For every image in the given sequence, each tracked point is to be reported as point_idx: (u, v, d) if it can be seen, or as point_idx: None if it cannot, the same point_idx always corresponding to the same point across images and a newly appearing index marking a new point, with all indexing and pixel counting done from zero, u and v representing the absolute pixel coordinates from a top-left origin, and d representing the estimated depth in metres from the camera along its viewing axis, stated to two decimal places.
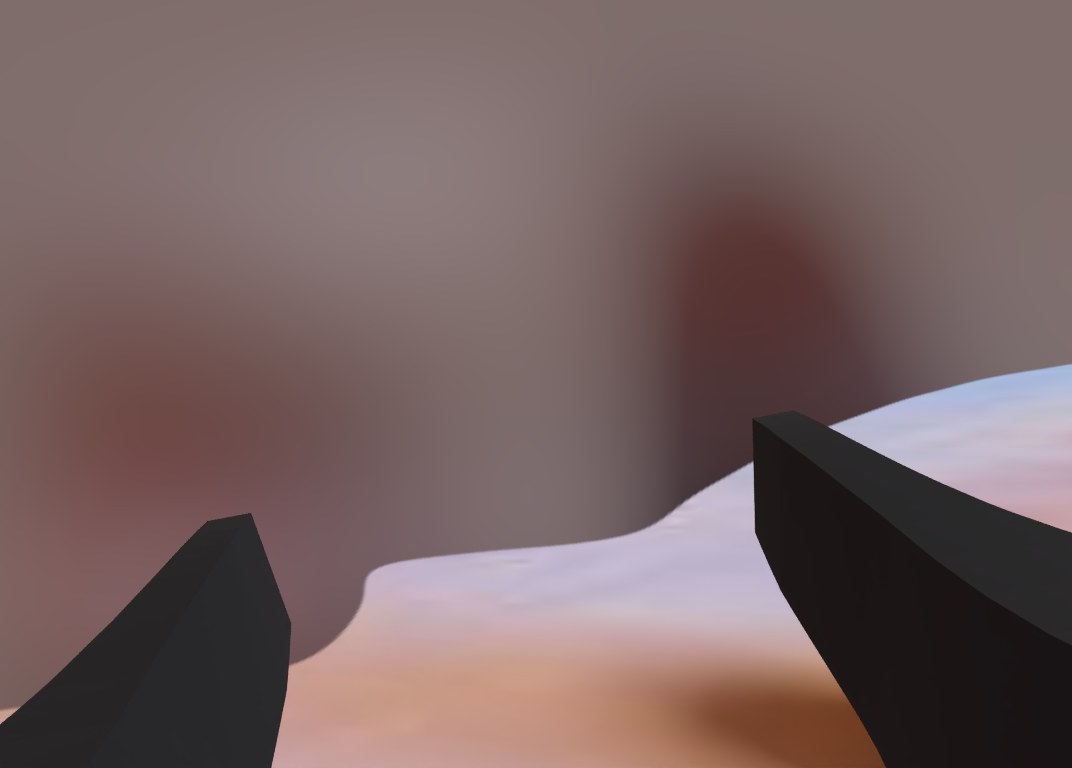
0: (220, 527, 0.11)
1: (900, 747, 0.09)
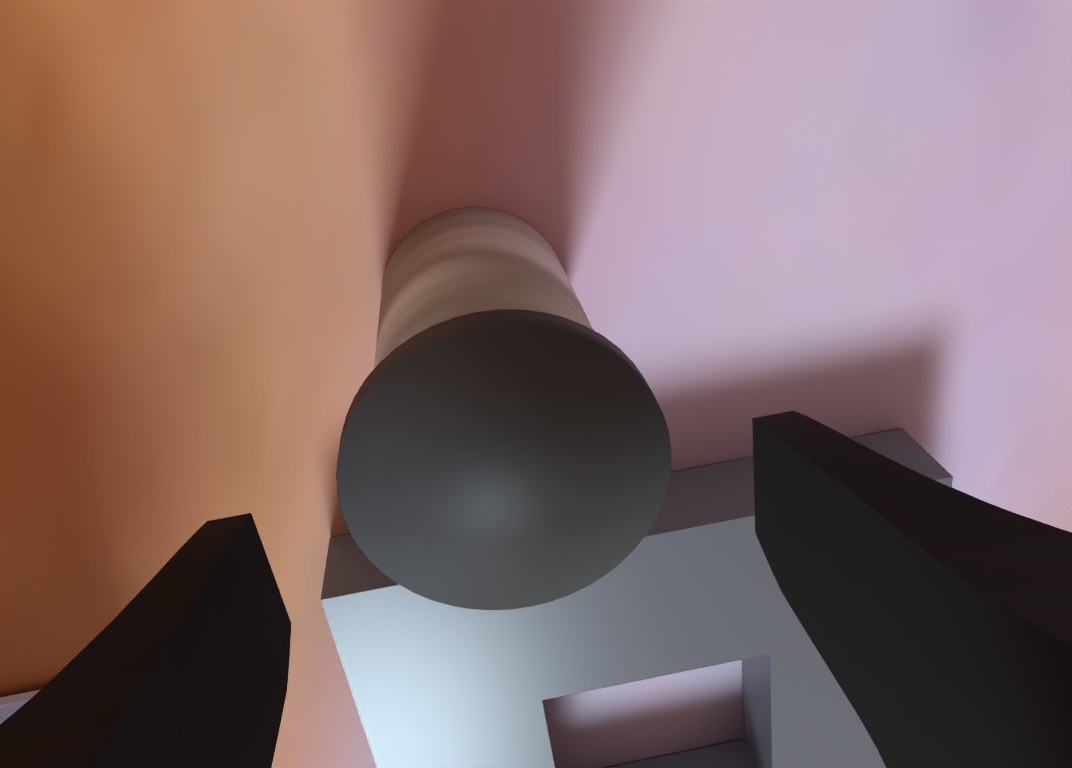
0: (220, 527, 0.11)
1: (900, 747, 0.09)
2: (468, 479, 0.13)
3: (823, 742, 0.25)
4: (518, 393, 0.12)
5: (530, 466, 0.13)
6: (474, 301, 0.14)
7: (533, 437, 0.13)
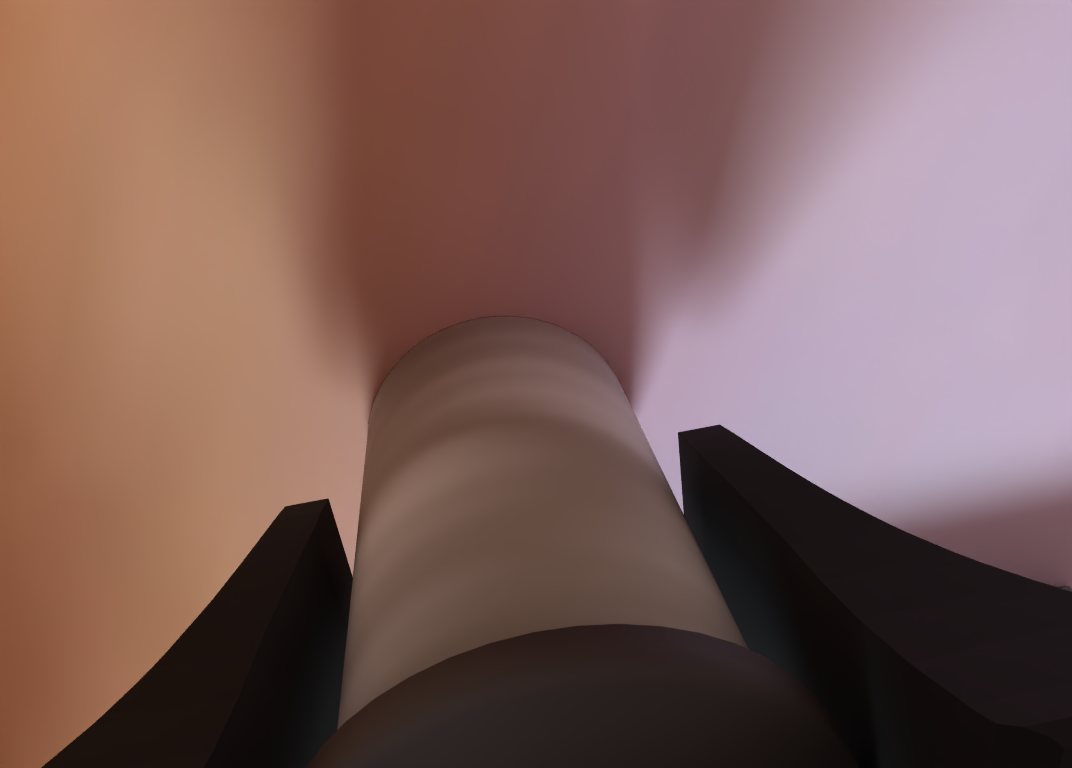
0: (300, 512, 0.11)
1: None
2: None
3: None
4: None
5: None
6: (519, 552, 0.08)
7: None
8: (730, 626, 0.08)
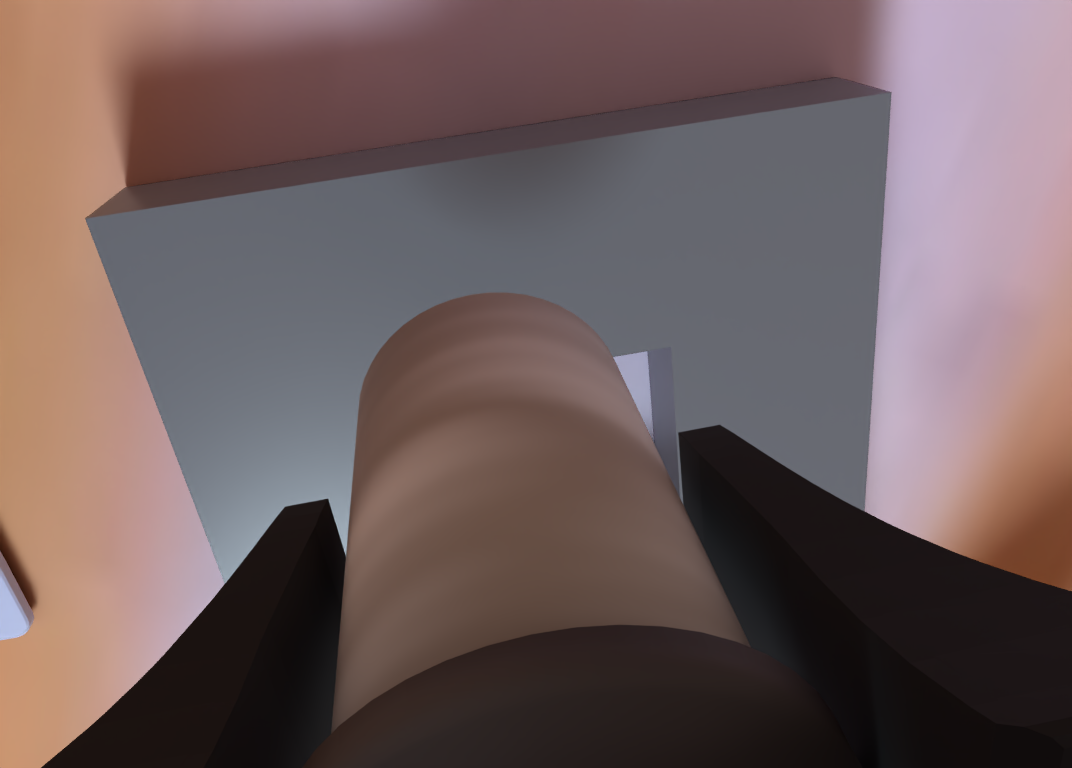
0: (300, 512, 0.11)
1: None
2: None
3: None
4: None
5: None
6: (515, 545, 0.08)
7: None
8: (729, 616, 0.08)
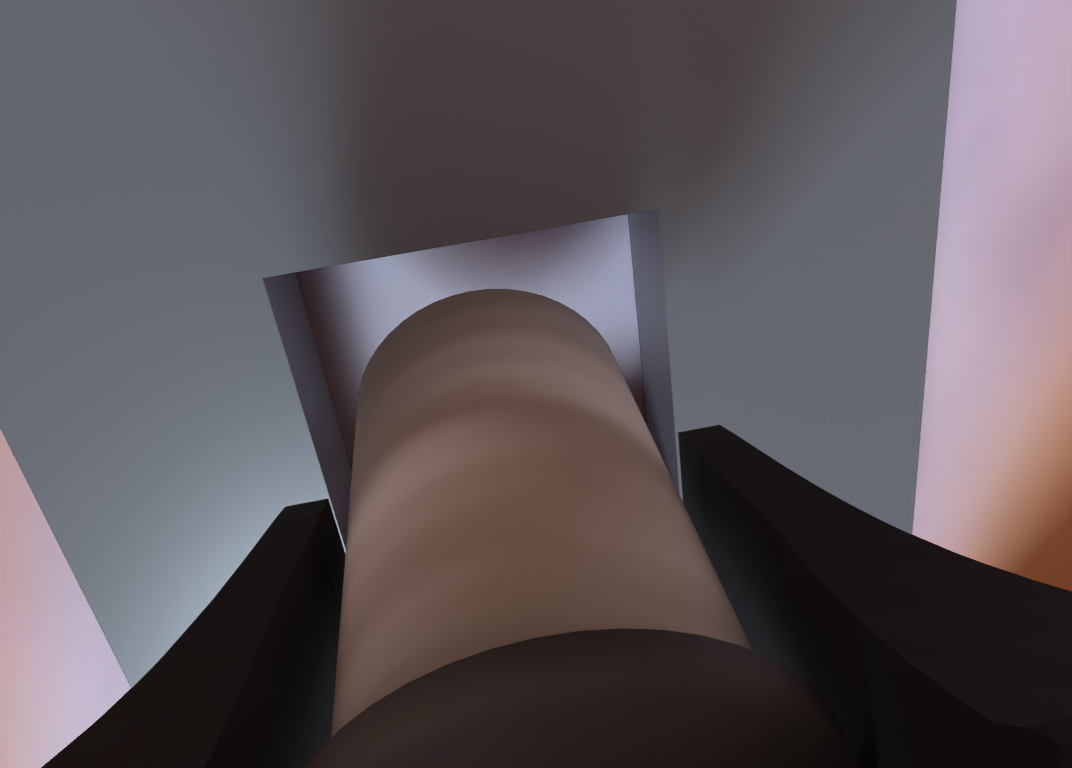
0: (301, 512, 0.11)
1: None
2: None
3: (757, 407, 0.16)
4: None
5: None
6: (516, 546, 0.08)
7: None
8: (729, 617, 0.08)
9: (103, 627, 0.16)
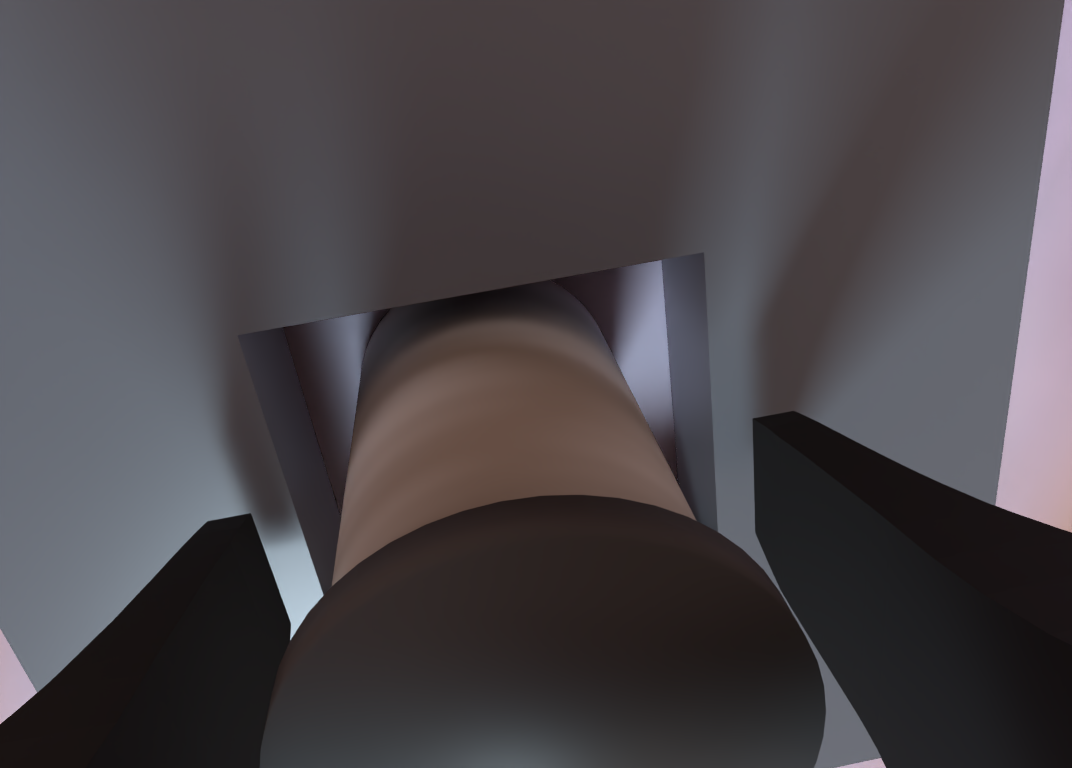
0: (220, 527, 0.11)
1: (900, 747, 0.09)
2: None
3: None
4: (574, 643, 0.07)
5: (591, 748, 0.08)
6: (493, 450, 0.09)
7: (596, 706, 0.07)
8: None
9: None
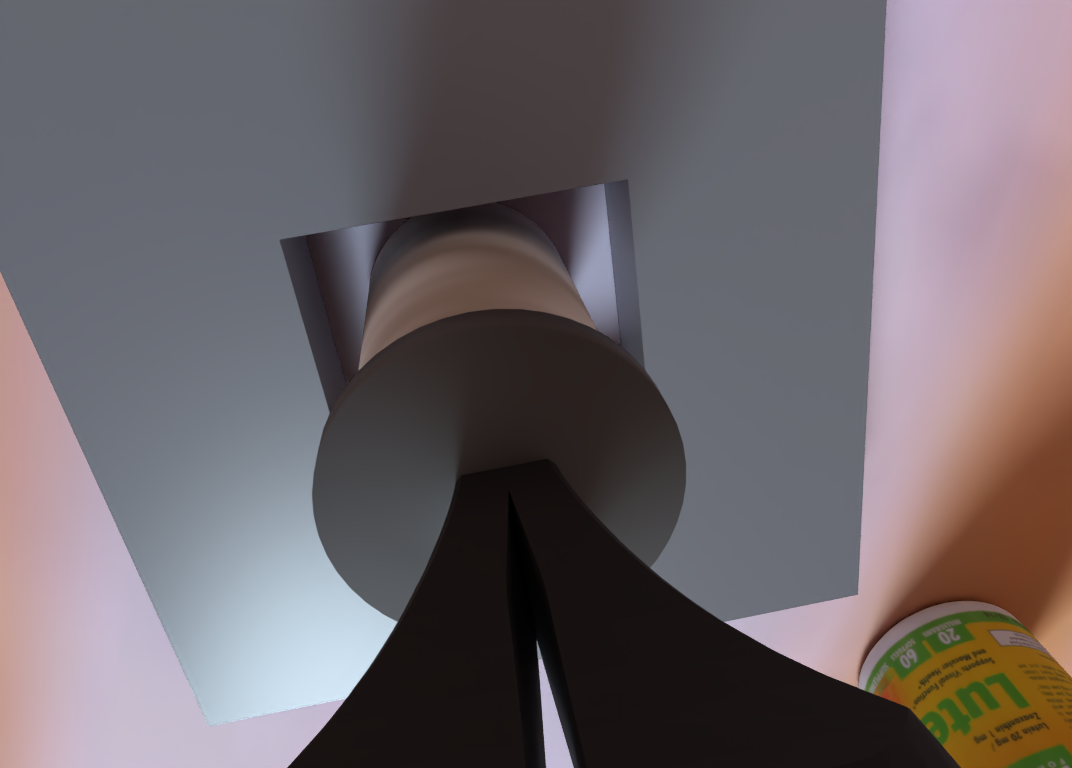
0: (484, 477, 0.11)
1: None
2: None
3: (719, 360, 0.17)
4: (515, 403, 0.11)
5: None
6: (466, 299, 0.13)
7: (532, 452, 0.11)
8: None
9: (134, 558, 0.18)
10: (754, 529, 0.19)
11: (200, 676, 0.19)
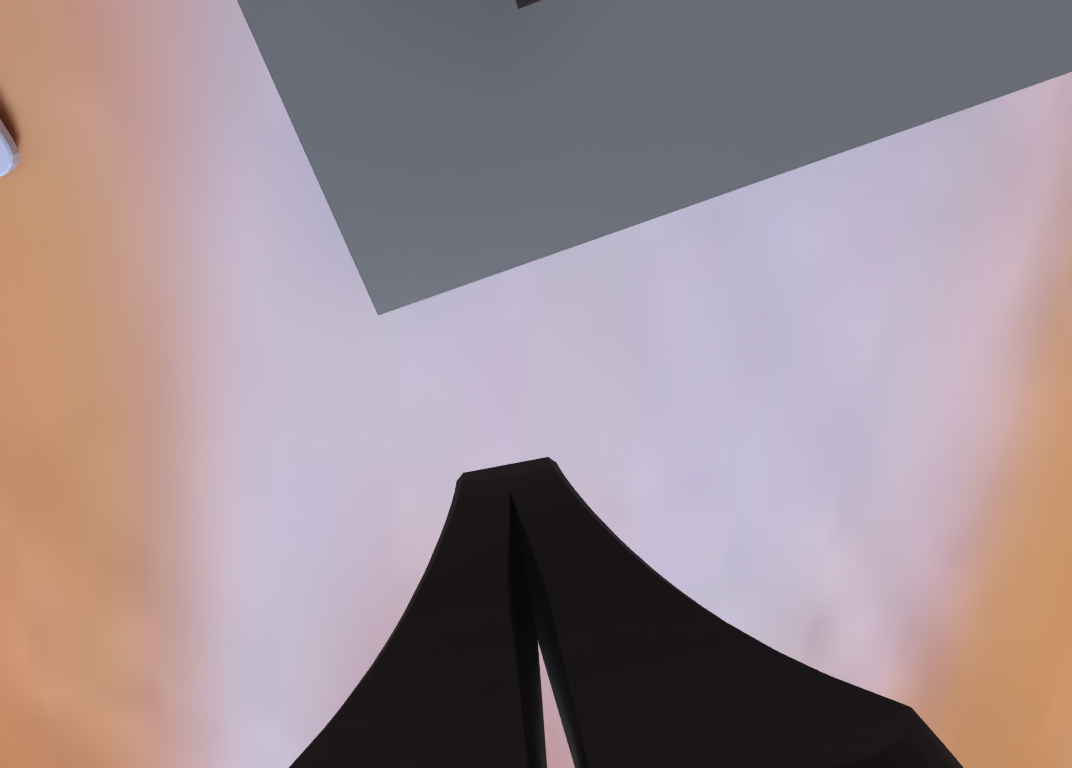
0: (485, 477, 0.11)
1: None
2: None
3: None
4: None
5: None
6: None
7: None
8: None
9: (275, 79, 0.16)
10: None
11: (362, 244, 0.17)
